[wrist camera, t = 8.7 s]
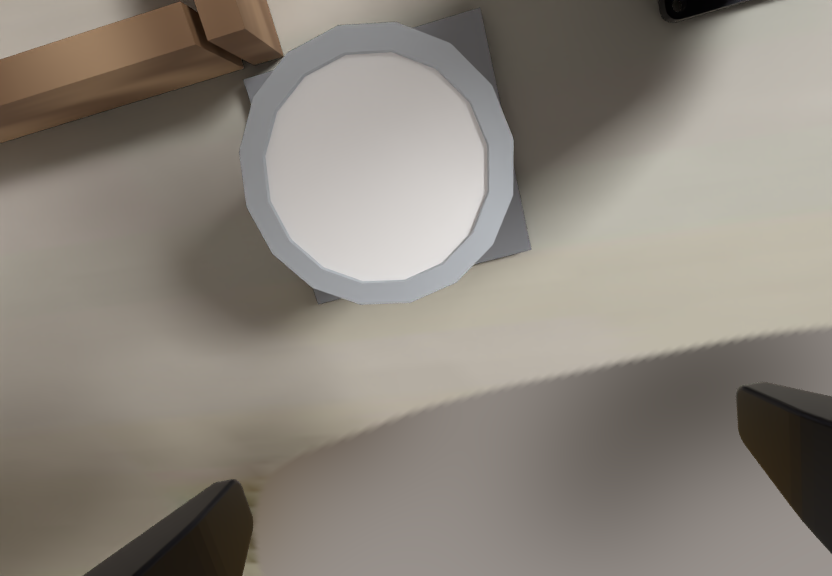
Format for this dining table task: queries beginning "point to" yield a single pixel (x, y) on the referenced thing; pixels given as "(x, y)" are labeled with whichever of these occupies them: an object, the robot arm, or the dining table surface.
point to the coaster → (473, 45)
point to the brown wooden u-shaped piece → (132, 62)
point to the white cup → (377, 163)
